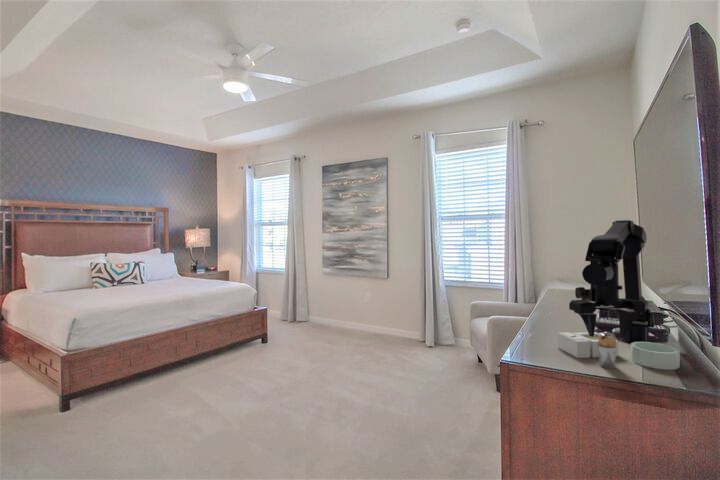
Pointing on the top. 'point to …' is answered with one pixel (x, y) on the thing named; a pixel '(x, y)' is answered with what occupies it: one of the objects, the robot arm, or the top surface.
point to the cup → (655, 355)
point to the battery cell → (607, 350)
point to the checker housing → (579, 344)
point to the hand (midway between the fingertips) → (606, 335)
